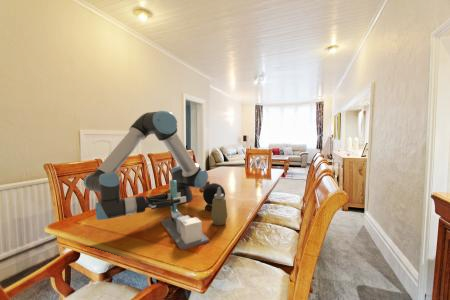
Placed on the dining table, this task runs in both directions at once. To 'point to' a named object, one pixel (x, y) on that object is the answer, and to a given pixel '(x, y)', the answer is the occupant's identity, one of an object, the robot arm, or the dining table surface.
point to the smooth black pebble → (211, 194)
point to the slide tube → (173, 194)
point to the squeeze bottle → (219, 208)
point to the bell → (205, 186)
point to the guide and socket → (185, 231)
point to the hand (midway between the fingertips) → (183, 196)
